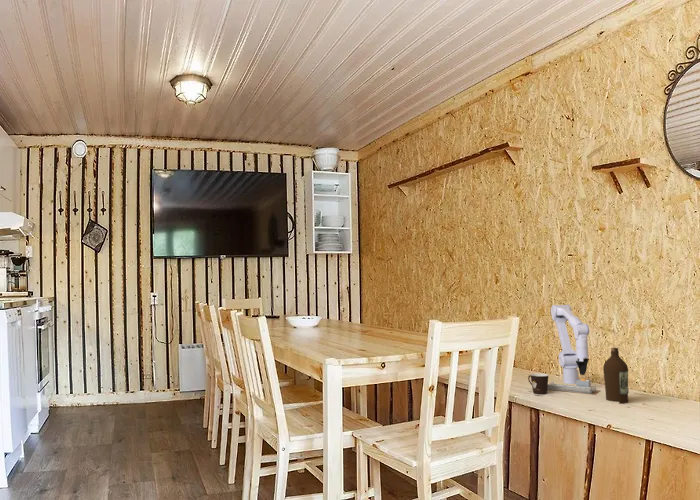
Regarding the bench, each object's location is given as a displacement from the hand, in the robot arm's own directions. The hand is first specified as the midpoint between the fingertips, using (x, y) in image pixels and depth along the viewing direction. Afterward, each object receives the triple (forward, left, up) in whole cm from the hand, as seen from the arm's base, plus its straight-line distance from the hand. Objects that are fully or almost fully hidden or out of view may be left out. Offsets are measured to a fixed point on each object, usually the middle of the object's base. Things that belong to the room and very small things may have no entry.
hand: (583, 373), depth 293 cm
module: (0, 0, -8) cm, 8 cm away
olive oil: (+20, +20, -8) cm, 30 cm away
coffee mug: (+22, -16, -8) cm, 28 cm away
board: (+8, -4, -8) cm, 13 cm away
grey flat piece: (+8, -4, -8) cm, 12 cm away
